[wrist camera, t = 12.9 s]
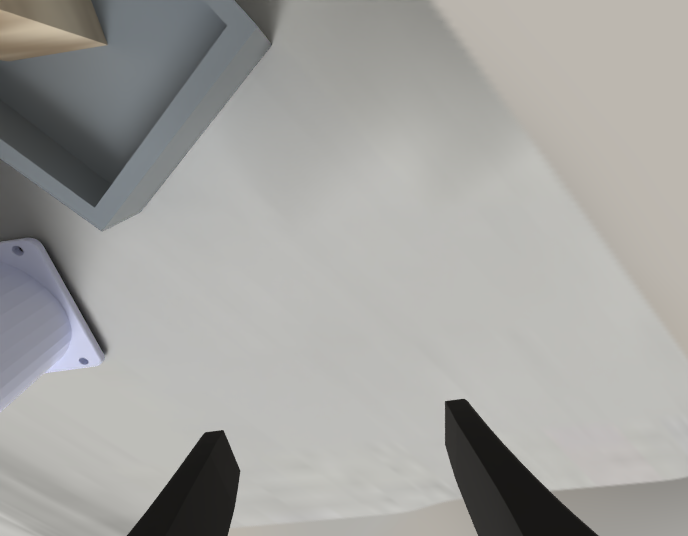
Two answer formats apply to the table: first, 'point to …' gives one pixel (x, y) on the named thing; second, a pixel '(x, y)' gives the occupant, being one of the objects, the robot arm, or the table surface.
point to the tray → (124, 101)
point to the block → (47, 28)
